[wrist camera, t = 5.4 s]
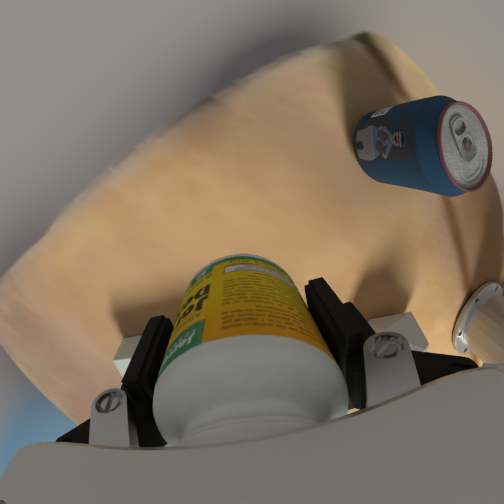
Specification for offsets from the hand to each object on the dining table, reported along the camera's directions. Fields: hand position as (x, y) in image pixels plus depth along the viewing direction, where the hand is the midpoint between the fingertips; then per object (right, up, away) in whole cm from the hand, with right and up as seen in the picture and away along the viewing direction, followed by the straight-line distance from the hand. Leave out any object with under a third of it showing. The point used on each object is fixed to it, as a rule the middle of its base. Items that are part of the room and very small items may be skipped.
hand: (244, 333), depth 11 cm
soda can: (+12, +13, +13) cm, 22 cm away
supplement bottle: (0, +1, +2) cm, 3 cm away
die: (+15, -7, +19) cm, 26 cm away
